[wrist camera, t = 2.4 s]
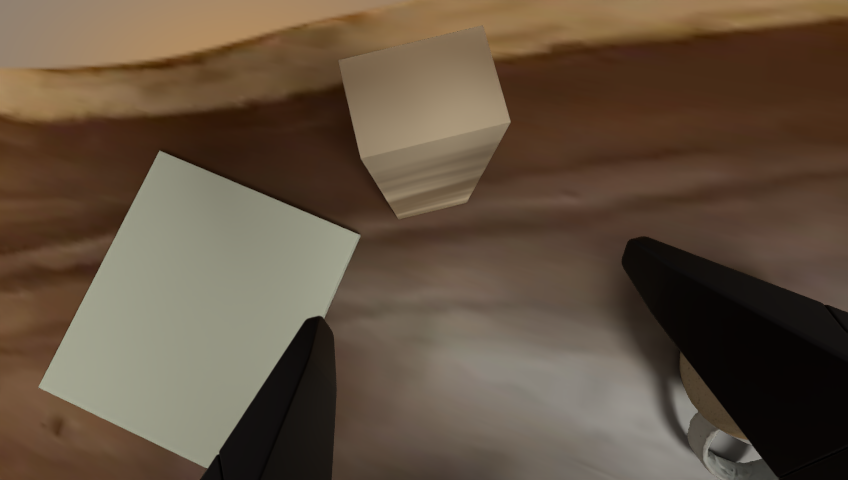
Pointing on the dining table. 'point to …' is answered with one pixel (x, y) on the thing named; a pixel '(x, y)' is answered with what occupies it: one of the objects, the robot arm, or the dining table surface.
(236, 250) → the sage placemat
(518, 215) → the dining table surface
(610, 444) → the dining table surface
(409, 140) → the beige rectangular block
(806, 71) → the dining table surface
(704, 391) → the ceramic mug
